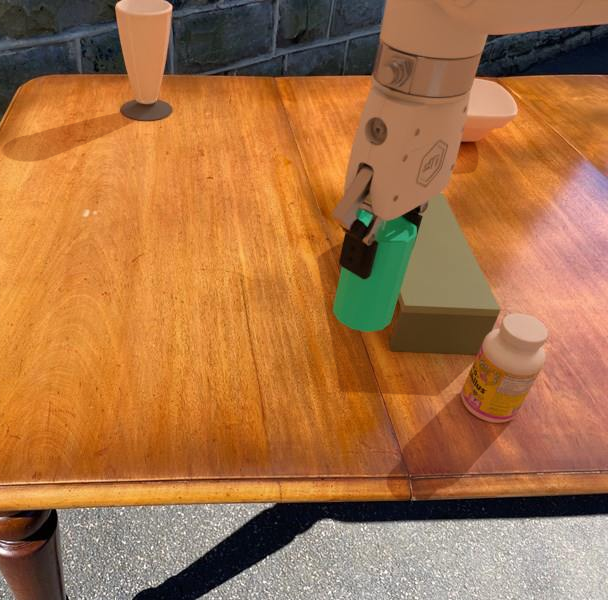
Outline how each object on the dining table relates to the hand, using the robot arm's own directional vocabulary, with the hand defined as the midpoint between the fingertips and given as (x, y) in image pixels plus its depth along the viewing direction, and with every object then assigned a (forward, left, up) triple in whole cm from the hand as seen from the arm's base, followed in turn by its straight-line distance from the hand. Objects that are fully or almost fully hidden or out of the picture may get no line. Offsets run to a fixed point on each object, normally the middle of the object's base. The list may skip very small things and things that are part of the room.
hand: (376, 256), depth 60 cm
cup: (+83, -34, -24) cm, 93 cm away
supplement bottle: (-11, -16, -24) cm, 30 cm away
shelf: (+9, -28, -23) cm, 38 cm away
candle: (0, 0, -7) cm, 7 cm away
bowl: (+35, -79, -24) cm, 89 cm away
